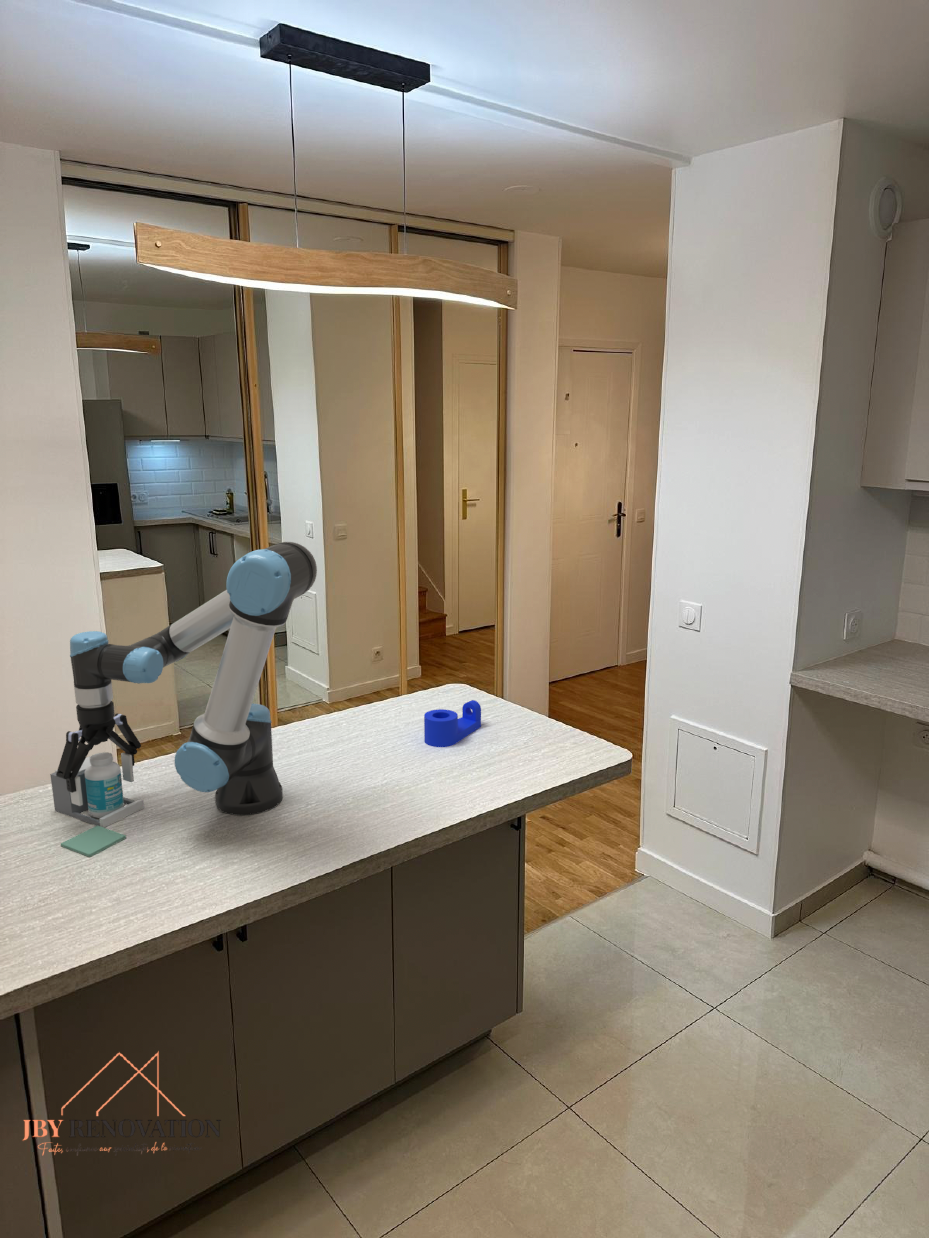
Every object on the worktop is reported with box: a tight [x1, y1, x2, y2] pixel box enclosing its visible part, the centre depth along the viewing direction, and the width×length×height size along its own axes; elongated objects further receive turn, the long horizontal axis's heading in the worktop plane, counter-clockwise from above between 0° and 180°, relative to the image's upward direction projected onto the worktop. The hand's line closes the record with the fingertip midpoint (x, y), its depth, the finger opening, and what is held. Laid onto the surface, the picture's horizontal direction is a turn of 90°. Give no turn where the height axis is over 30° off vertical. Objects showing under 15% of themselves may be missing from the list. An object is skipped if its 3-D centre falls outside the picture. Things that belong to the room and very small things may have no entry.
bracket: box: [423, 699, 482, 748], centre depth 236 cm, size 20×9×8 cm, turn 142°
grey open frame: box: [49, 755, 145, 828], centre depth 192 cm, size 16×11×10 cm
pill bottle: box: [85, 751, 125, 819], centre depth 191 cm, size 8×7×14 cm
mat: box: [60, 825, 127, 858], centre depth 179 cm, size 9×9×1 cm
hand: (103, 791), depth 191 cm, fingers open, 13 cm apart
